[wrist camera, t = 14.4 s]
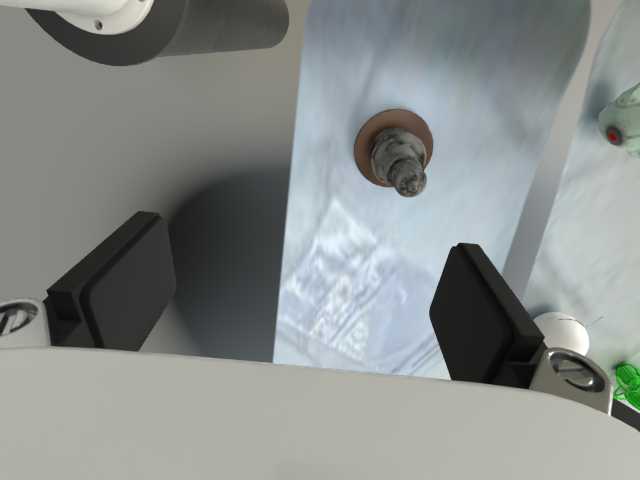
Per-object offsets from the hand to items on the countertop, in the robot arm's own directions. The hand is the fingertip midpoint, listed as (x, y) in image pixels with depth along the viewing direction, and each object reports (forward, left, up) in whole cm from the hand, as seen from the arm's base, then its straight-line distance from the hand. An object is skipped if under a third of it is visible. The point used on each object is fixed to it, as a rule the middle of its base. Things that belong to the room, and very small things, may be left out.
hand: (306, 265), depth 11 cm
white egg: (+46, -4, -30) cm, 55 cm away
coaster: (+9, +1, -30) cm, 32 cm away
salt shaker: (+9, +1, -30) cm, 31 cm away
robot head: (+25, +17, -30) cm, 43 cm away
